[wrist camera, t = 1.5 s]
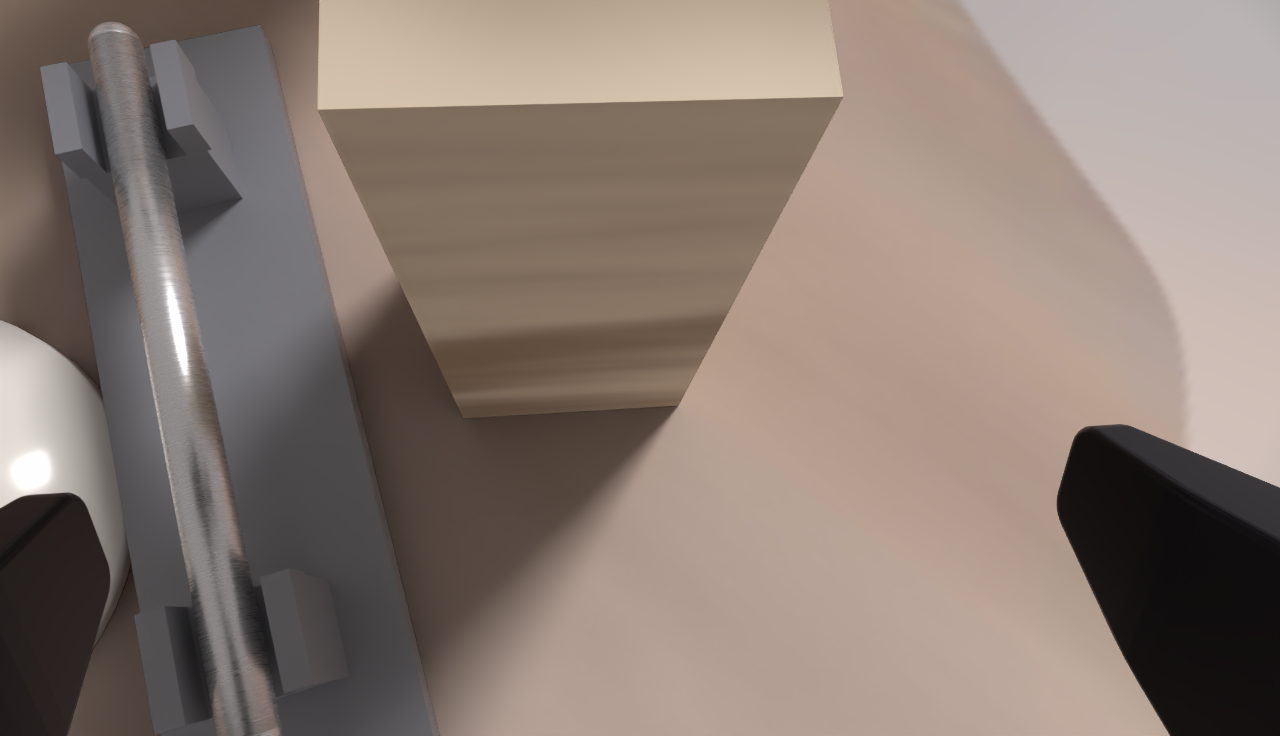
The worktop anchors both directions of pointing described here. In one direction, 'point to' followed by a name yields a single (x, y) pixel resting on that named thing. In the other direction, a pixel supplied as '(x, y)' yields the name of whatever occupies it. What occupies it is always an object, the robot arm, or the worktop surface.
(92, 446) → the coaster
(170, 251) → the steel bar
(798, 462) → the worktop surface
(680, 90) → the beech block
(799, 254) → the worktop surface
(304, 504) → the bar stand
